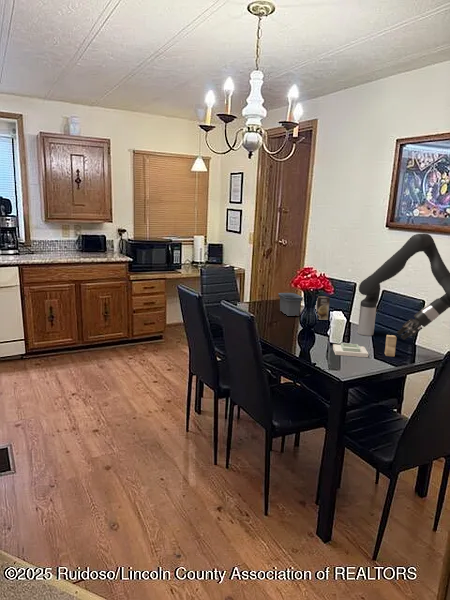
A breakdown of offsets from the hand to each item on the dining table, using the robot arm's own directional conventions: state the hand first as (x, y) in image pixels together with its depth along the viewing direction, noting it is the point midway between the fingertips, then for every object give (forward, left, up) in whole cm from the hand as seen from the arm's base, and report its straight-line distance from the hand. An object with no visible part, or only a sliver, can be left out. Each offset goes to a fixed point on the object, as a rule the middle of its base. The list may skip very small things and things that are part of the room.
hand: (400, 336), depth 214 cm
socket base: (+1, -24, -10) cm, 26 cm away
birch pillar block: (0, -4, -10) cm, 11 cm away
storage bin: (-80, -54, -11) cm, 97 cm away
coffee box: (-70, -34, -11) cm, 79 cm away
